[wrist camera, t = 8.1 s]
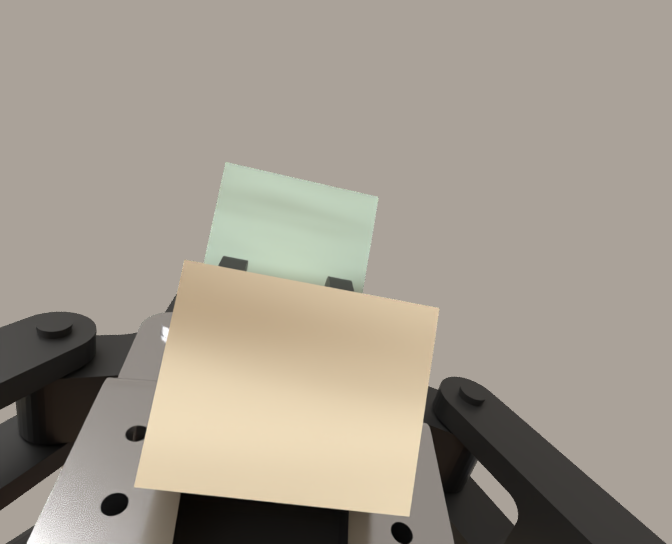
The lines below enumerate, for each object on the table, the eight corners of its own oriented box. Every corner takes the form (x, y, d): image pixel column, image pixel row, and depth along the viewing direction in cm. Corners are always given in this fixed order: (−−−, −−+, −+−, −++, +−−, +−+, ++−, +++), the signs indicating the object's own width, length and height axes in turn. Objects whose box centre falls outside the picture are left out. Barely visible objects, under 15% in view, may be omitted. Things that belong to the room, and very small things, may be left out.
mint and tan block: (527, 529, 4) (588, -10, 5) (-27, 469, 3) (142, -160, 4) (324, 361, 18) (348, 227, 19) (206, 342, 17) (236, 203, 18)
